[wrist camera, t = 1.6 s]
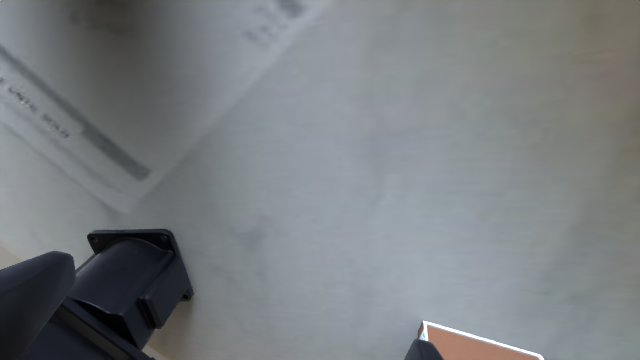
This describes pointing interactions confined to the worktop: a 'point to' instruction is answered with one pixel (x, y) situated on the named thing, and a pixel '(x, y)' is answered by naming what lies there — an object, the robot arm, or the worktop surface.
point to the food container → (470, 345)
